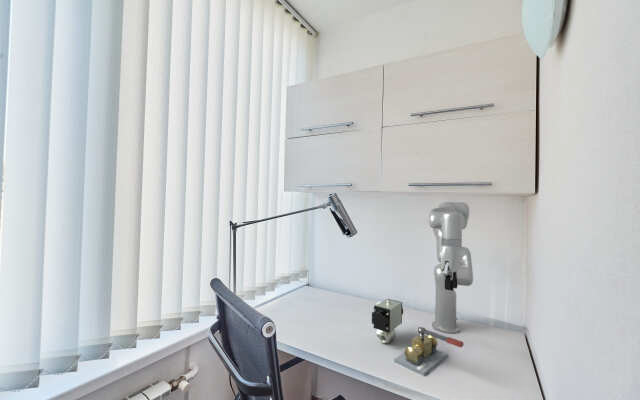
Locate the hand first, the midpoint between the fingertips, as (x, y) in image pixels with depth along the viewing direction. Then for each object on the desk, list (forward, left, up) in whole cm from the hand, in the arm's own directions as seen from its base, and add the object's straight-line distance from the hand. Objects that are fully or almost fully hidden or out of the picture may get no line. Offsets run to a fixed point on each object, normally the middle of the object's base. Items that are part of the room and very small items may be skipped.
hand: (450, 288), depth 111 cm
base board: (+10, -7, -27) cm, 30 cm away
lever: (+10, 0, -17) cm, 20 cm away
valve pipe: (+10, -7, -27) cm, 30 cm away
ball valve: (+7, -25, -27) cm, 38 cm away
